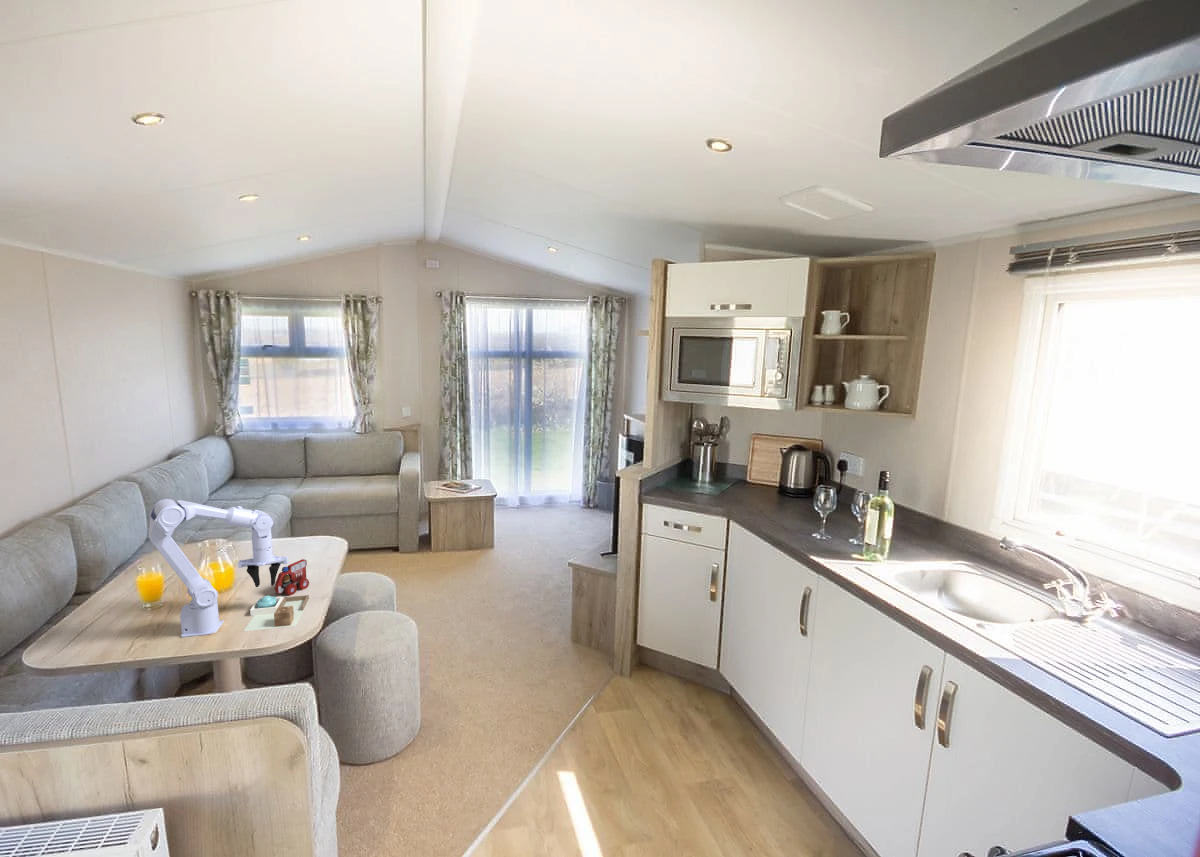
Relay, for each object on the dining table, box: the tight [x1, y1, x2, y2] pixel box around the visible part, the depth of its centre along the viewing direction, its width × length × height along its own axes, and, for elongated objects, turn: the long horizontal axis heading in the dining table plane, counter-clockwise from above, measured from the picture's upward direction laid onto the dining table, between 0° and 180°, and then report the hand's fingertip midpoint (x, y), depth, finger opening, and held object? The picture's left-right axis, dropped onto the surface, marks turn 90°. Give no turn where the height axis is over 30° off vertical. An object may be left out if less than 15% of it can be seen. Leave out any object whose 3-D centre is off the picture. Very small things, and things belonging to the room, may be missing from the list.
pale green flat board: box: [243, 594, 311, 632], centre depth 186 cm, size 16×20×3 cm
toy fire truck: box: [274, 559, 310, 596], centre depth 203 cm, size 7×12×10 cm, turn 157°
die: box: [274, 606, 294, 627], centre depth 180 cm, size 5×4×5 cm
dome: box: [256, 595, 277, 608], centre depth 188 cm, size 6×6×4 cm
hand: (265, 585), depth 187 cm, fingers open, 4 cm apart
